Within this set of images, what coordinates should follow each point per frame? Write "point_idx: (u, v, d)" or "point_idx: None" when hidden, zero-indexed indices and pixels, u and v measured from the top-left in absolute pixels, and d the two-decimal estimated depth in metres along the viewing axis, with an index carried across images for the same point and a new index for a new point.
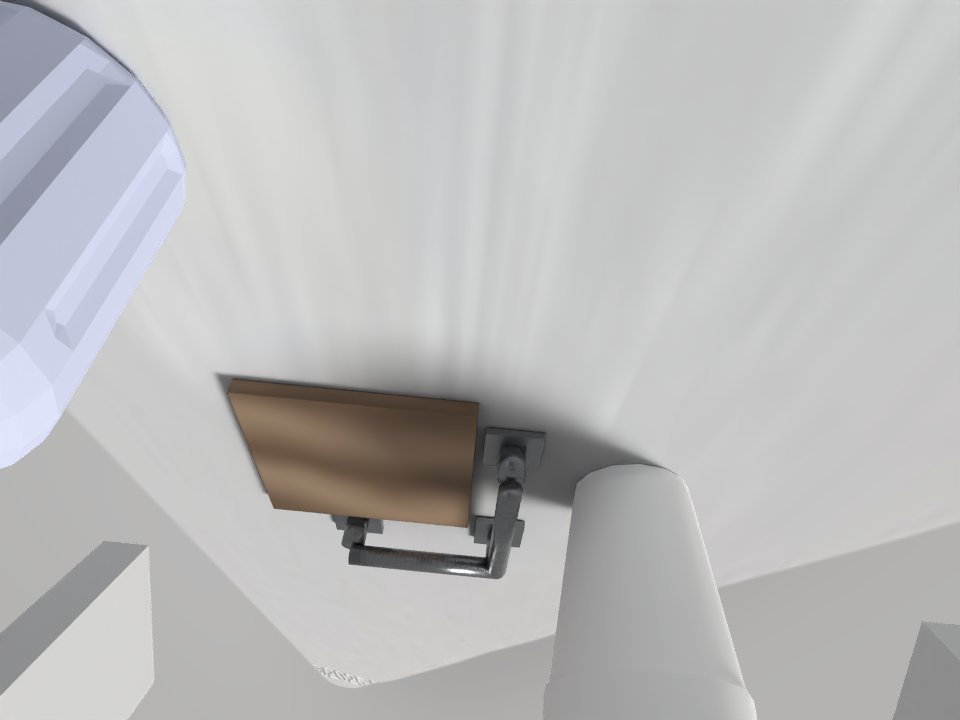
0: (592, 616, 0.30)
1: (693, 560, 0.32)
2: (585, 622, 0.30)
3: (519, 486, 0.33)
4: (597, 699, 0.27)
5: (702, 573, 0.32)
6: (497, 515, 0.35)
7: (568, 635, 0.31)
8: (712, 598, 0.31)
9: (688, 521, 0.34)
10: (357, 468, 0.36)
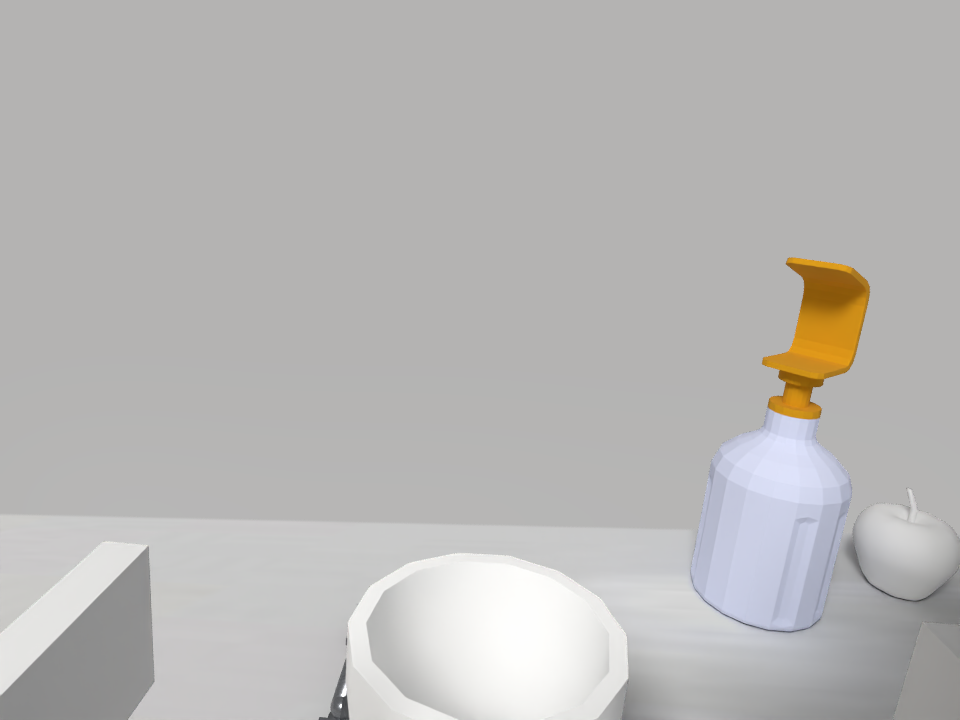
0: None
1: None
2: None
3: None
4: None
5: None
6: None
7: None
8: None
9: None
10: None
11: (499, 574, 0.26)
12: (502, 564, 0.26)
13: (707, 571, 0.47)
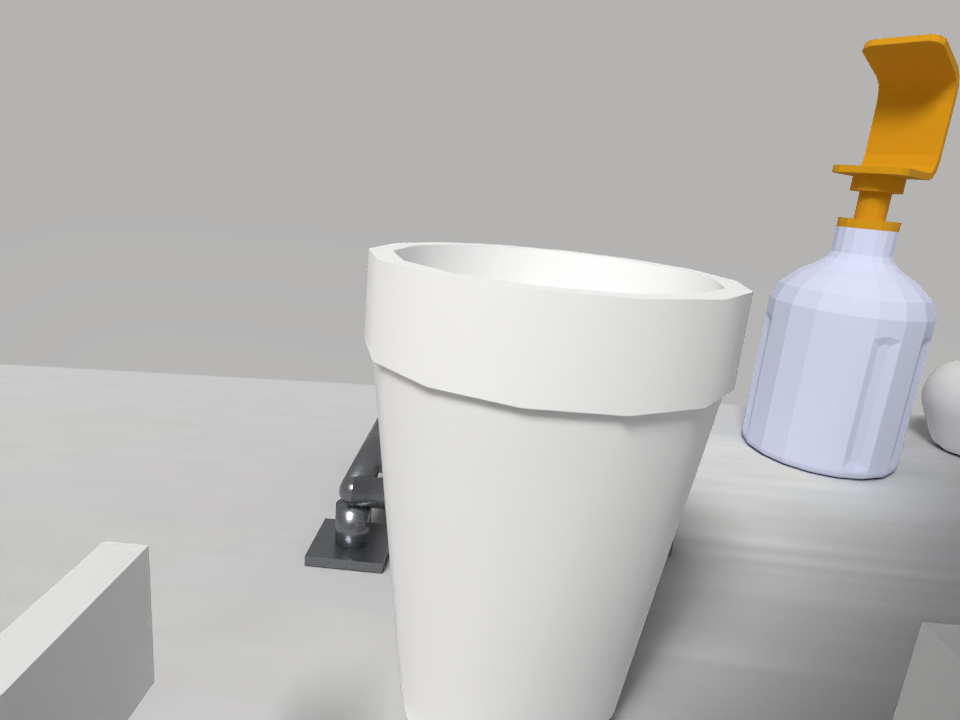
0: None
1: (648, 593, 0.17)
2: None
3: None
4: None
5: (646, 585, 0.16)
6: None
7: None
8: (655, 548, 0.16)
9: (619, 671, 0.17)
10: None
11: (556, 266, 0.21)
12: (561, 252, 0.21)
13: (765, 418, 0.41)
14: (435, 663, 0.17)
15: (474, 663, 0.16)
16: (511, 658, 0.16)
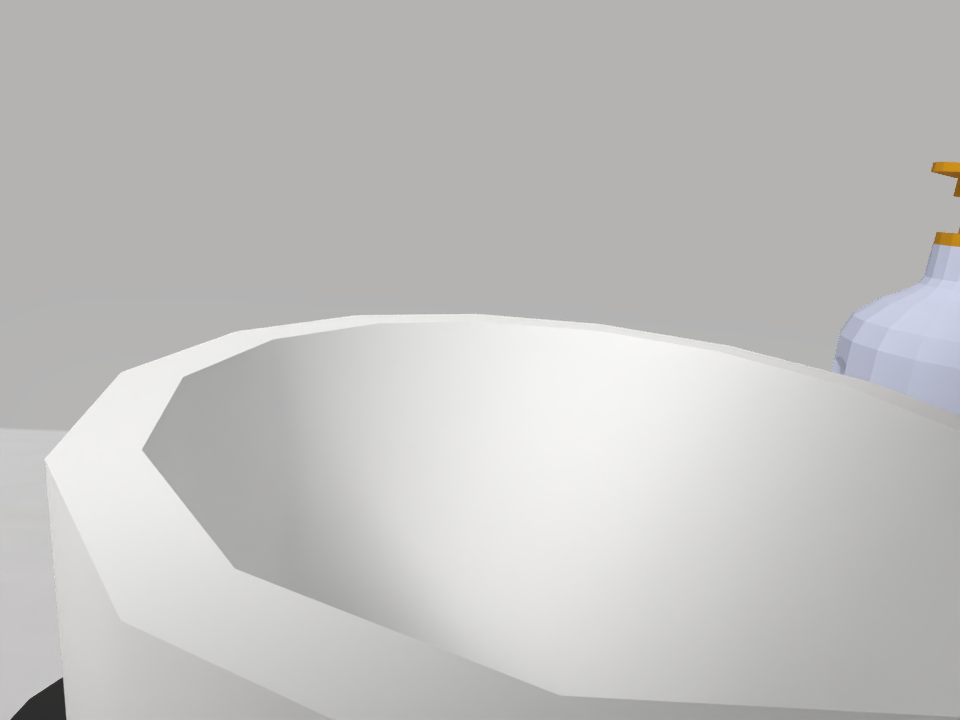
0: None
1: None
2: None
3: None
4: None
5: None
6: None
7: None
8: None
9: None
10: None
11: (581, 358, 0.11)
12: (590, 331, 0.11)
13: None
14: None
15: None
16: None
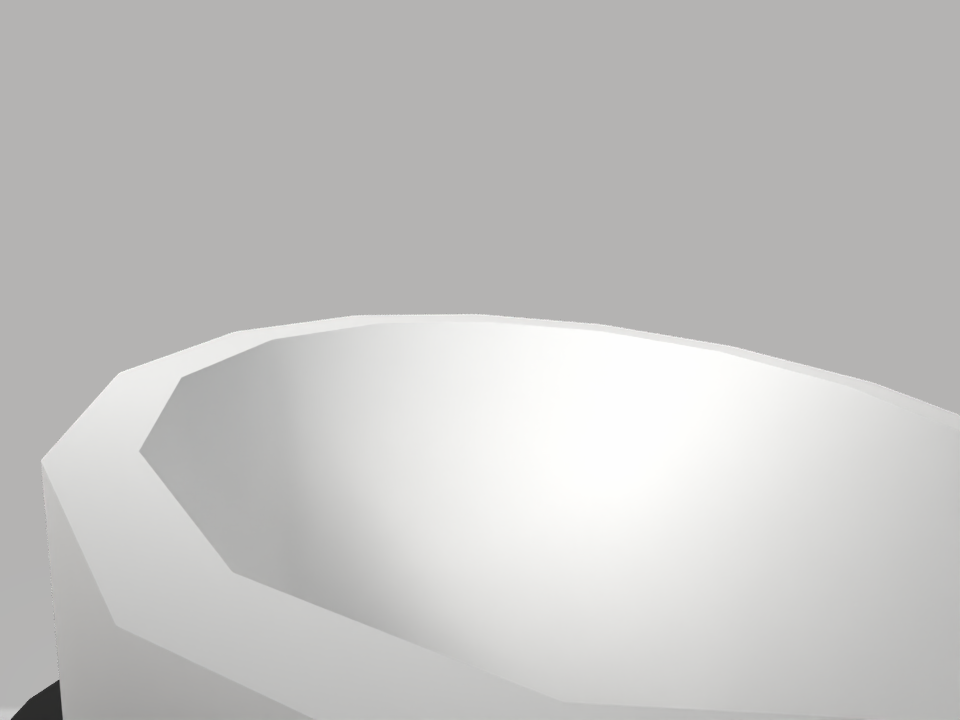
0: None
1: None
2: None
3: None
4: None
5: None
6: None
7: None
8: None
9: None
10: None
11: (582, 358, 0.11)
12: (591, 331, 0.11)
13: None
14: None
15: None
16: None
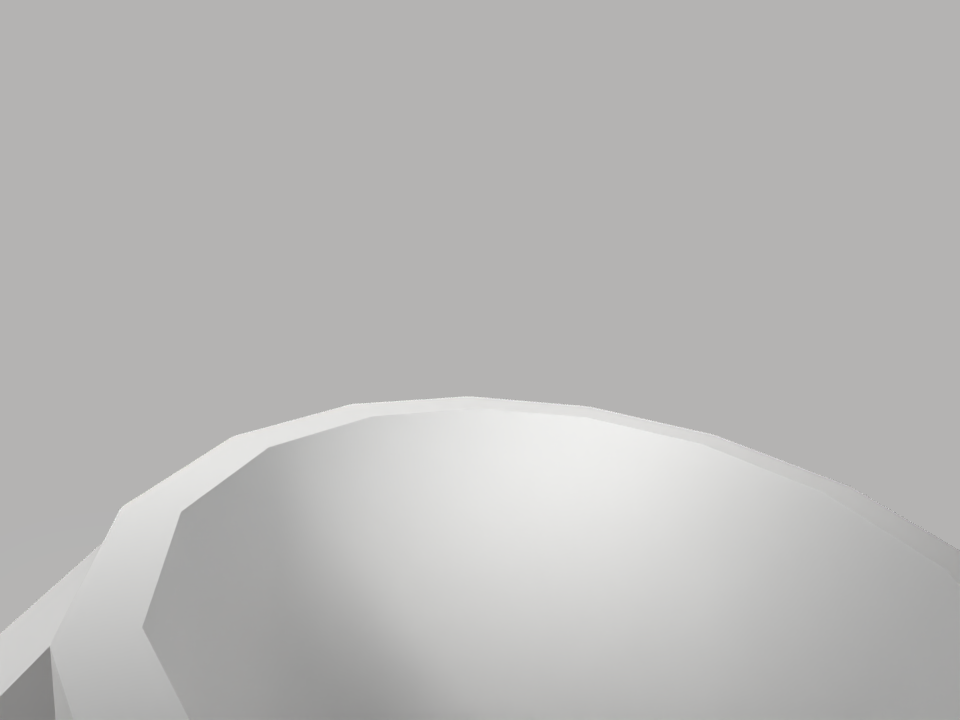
0: None
1: None
2: None
3: None
4: None
5: None
6: None
7: None
8: None
9: None
10: None
11: (570, 444, 0.11)
12: (579, 418, 0.11)
13: None
14: None
15: None
16: None
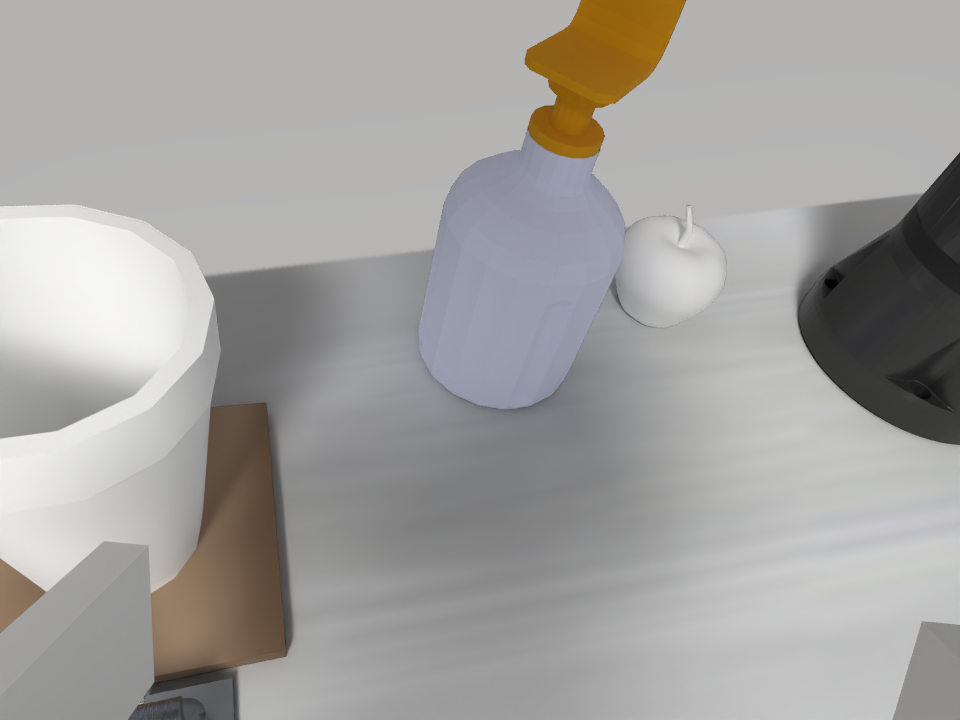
0: None
1: (187, 505, 0.23)
2: None
3: None
4: None
5: (178, 510, 0.23)
6: None
7: None
8: (173, 501, 0.22)
9: (181, 539, 0.25)
10: None
11: (64, 230, 0.21)
12: (64, 217, 0.20)
13: (435, 347, 0.35)
14: None
15: (54, 580, 0.22)
16: None
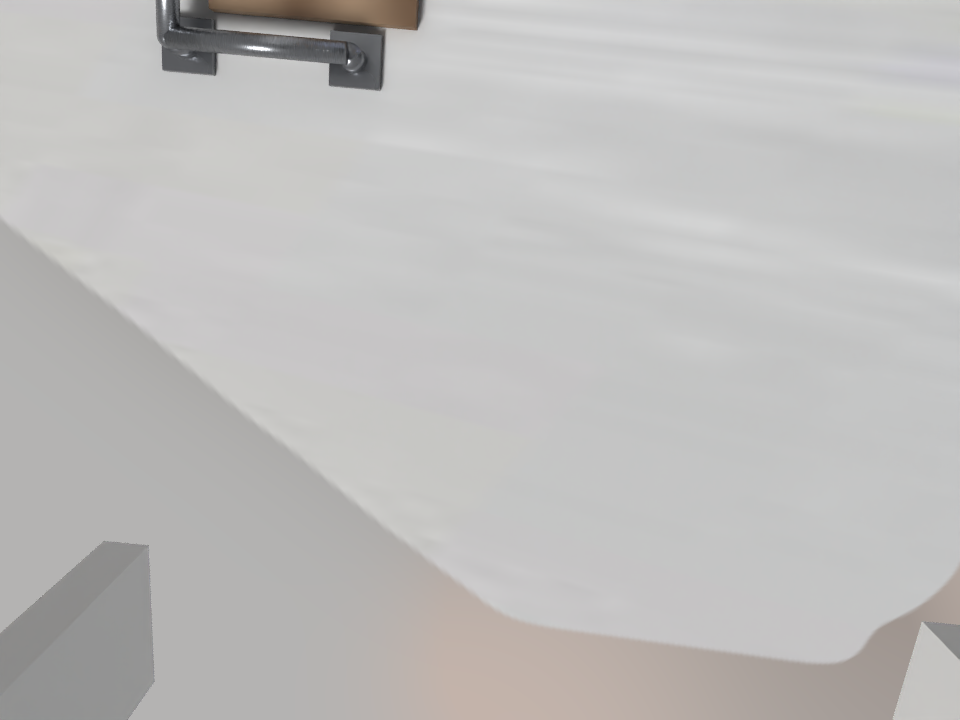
0: None
1: None
2: None
3: (347, 62, 0.37)
4: None
5: None
6: (306, 38, 0.37)
7: None
8: None
9: None
10: None
11: None
12: None
13: None
14: None
15: None
16: None
